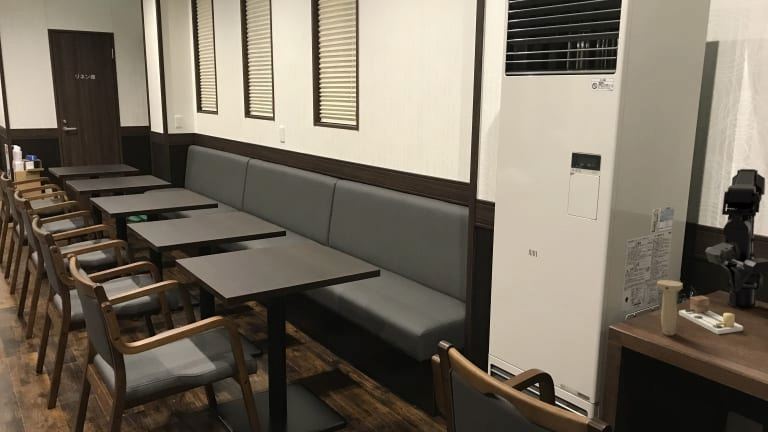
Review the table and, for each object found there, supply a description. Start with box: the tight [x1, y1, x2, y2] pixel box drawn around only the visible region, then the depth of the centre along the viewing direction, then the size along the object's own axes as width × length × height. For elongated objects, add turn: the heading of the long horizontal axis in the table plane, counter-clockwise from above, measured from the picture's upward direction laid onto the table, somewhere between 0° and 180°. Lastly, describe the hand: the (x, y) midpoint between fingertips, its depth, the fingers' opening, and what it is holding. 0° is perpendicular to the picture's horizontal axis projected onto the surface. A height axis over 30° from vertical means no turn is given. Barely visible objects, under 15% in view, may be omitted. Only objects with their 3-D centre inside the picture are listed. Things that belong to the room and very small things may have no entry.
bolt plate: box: [678, 309, 744, 335], centre depth 177 cm, size 8×16×4 cm, turn 11°
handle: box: [656, 279, 684, 336], centre depth 170 cm, size 5×6×15 cm
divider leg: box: [684, 295, 710, 313], centre depth 183 cm, size 6×3×4 cm, turn 101°
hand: (736, 289), depth 166 cm, fingers closed
